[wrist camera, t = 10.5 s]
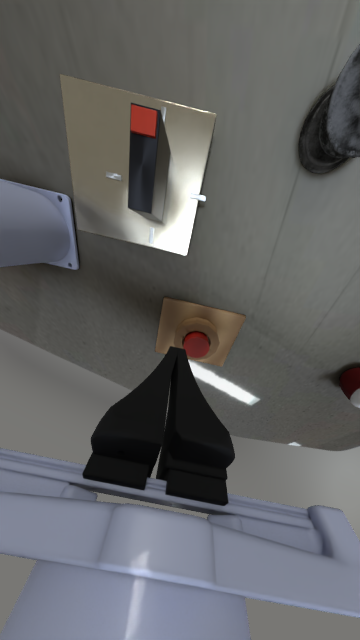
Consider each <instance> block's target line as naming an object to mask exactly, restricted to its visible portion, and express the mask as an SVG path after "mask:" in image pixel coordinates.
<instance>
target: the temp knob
mask: <svg viewBox="0 0 360 640" xmlns="http://www.w3.org/2000/svg"><path fill="white" fill-rule="evenodd" d="M170 152H171V150H170V146H169V142H168V138H167V134H166V130H165V126H164V122H163V117H162V113H161V110H158V109H155V108H151V107H147V106H143V105H139V104H136V103H132V102H131V113H130V148H129V183H128V208H129V209H131V210H132V211H134V212H136V213H138V214H139V215H141V216H143V217H145V218H149V219H153V220H157V221H161V222H162V216H163V208H164V200H165V192H166V184H167V176H168V168H169V160H170Z"/></svg>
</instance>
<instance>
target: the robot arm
mask: <svg viewBox="0 0 360 640" xmlns="http://www.w3.org/2000/svg"><path fill="white" fill-rule="evenodd" d="M60 198H62V202H61V200H60ZM34 263H48V264H52V265H56V266H61V267H65V268H69V269H73V270H77V269H79V260H78V252H77V244H76V236H75V228H74V220H73V212H72V204H71V199H70V198H69V197H68V196H67V195H64V194H61V193H56V192H52V191H48V190H44V189H40V188H36V187H32V186H28V185H24V184H19V183H15V182H11V181H7V180H3V179H0V267H7V266H16V265H25V264H34ZM70 263H71V264H72V266H71V265H70ZM170 381H171V385H170ZM169 388H170V397H169V407H168V413H167V419H166V411H167V403H168V395H169ZM165 420H166V425H165ZM164 430H165V431H164ZM91 445H92V450H93V453H92V455H91V457H90V459H89V461H88V463H87V465H83V464H78V463H73V462H68V461H63V460H58V459H53V458H48V457H43V456H38V455H33V454H28V453H23V452H18V451H13V450H8V449H3V448H0V554H5V555H11V556H17V557H22V558H27V559H33V560H37V561H36V563H35V565H34V567H33V569H32V571H31V573H30V575H29V577H28V579H27V581H26V583H25V585H24V587H23V589H22V591H21V594H20V595H19V597H18V599H17V601H16V604H15V606H14V608H13V610H12V612H11V614H10V616H9V618H8V620H7V622H6V624H5V626H4V628H3V630H2V632H1V634H0V640H251V638H250V631H249V623H248V618H247V610H246V603H245V598H251V599H257V600H262V601H268V602H274V603H279V604H285V605H290V606H296V607H302V608H307V609H313V610H319V611H324V612H330V613H335V614H341V615H347V616H353V617H358V618H360V541H359V539H358V538H357V536H356V534H355V532H354V531H353V529H352V527H351V525H350V523H349V522H348V520H347V518H346V516H345V515H344V513H343V511H341V510H340V509H336V508H331V507H326V506H320V505H317V506H316V505H315V506H311V507H309V508H308V509H304V508H299V507H294V506H289V505H284V504H279V503H274V502H268V501H264V500H258V499H253V498H249V497H244V496H239V495H234V494H229V493H227V487H226V479H227V471H226V468H227V467H228V466H229V465H230V464H231V463H232V462H233V460H234V458H235V453H234V449H233V444H232V441H231V437H230V434H229V432H228V430H227V429H226V428H225V427H224V425H223V424H222V423H221V422H220V420H219V419H218V418H217V416H216V415H215V413H214V412H213V410H212V409H211V407H210V406H209V404H208V403H207V401H206V400H205V398H204V396H203V394H202V393H201V391H200V389H199V387H198V385H197V383H196V381H195V378H194V376H193V373H192V371H191V368H190V365H189V362H188V358H187V354H186V350H185V349H182V348H177V347H173V346H170V347H169V349H168V352H167V353H166V355H165V357H164V358H163V360H162V361H161V362H160V364H159V365H158V366H157V367H156V369H155V370H154V371H153V372H152V373H151V374H150V375H149V376H148V377H147V378H146V379H145V380H144V381H143V382H142V383H141V384H140V385H139V386H138V387H137V388H135V389H134V390H133V391H132V392H131V393H129V394H128V395H127V396H126V397H124V398H123V399H121V400H120V401H118V402H117V403H116V404H114V405H113V406H111V407H110V409H109V410H108V411H107V412H106V414H105V415H104V416H103V418H102V419H101V421H100V422H99V424H98V425H97V427H96V429H95V431H94V433H93V435H92V437H91ZM161 446H162V448H161ZM160 449H161V454H160V459H159V464H158V470H157V475H156V479H153V478H150V477H151V474H152V471H153V468H154V466H155V464H156V461H157V458H158V455H159V452H160ZM91 491H93V492H99V493H104V494H109V495H114V496H119V497H125V498H129V499H134V500H140V501H145V502H150V503H155V504H160V505H165V506H170V507H176V508H181V509H186V510H191V511H196V512H201V513H207V514H211V515H208V517H207V519H205V518H202V517H198V516H194V515H189V514H184V513H179V512H174V511H168V510H163V509H158V508H153V507H148V506H143V505H136V504H119V503H109V502H99V501H96V499H97V494H96V493H93V492H91Z"/></svg>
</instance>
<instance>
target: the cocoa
mask: <svg viewBox="0 0 360 640" xmlns="http://www.w3.org/2000/svg"><path fill="white" fill-rule="evenodd" d="M340 387H341V389H342V391H343V392H344V394H345V395H346V397H347V398H348V399H349V400H350V402H351V403H352V404H353V405H354V406H356V407H358V408H360V367H358V368H353V369H349V370H347V371H346V372H344V373H343V374H342V375H341V377H340Z"/></svg>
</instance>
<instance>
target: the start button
mask: <svg viewBox="0 0 360 640" xmlns="http://www.w3.org/2000/svg"><path fill="white" fill-rule="evenodd" d="M183 349H185V350H186V354H187V355H188V356H190V357H193V358H200V357H203V356H205V355H206V354H207V353H208V351H209V341H208V338H207V336H206V335H205V334H204V333H202V332H198V331H194V332H191V333H189V334H187V335H186V336H185V338H184V345H183Z"/></svg>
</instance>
